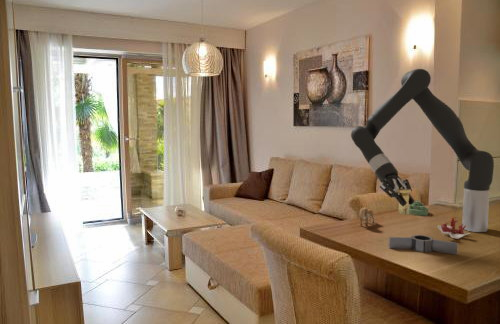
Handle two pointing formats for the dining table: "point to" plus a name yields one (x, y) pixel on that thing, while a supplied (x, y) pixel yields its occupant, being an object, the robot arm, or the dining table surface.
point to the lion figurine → (365, 216)
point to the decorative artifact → (418, 209)
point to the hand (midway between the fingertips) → (408, 203)
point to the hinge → (423, 244)
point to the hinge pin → (405, 193)
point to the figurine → (453, 229)
